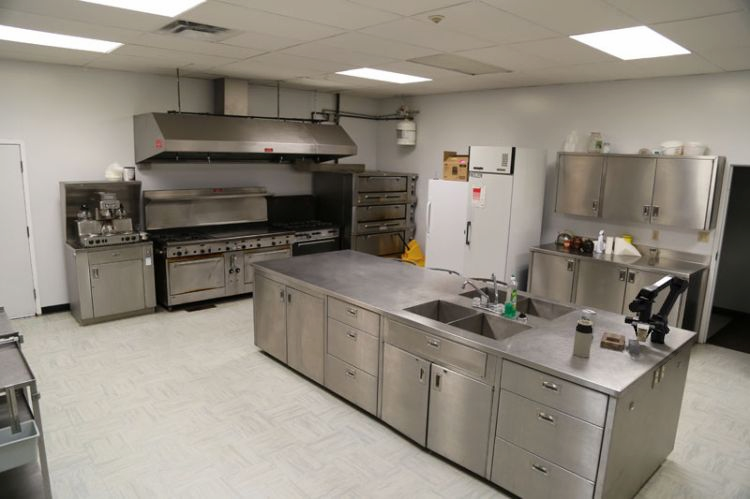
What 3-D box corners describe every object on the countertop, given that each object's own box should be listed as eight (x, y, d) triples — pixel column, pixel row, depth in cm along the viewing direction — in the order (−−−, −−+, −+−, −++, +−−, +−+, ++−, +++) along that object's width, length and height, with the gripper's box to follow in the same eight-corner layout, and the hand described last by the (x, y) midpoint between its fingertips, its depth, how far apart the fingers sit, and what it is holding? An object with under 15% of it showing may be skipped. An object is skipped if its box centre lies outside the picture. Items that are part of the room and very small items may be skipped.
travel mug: (581, 358, 251) (585, 325, 247) (569, 352, 258) (573, 320, 254) (592, 356, 254) (597, 323, 250) (580, 350, 261) (584, 318, 257)
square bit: (645, 339, 273) (647, 329, 272) (645, 342, 269) (647, 331, 268) (636, 337, 275) (638, 327, 274) (636, 340, 271) (637, 330, 270)
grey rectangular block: (637, 349, 266) (638, 340, 265) (638, 355, 258) (639, 346, 257) (627, 347, 268) (629, 339, 267) (628, 353, 260) (630, 344, 259)
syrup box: (578, 333, 286) (581, 310, 283) (586, 332, 289) (589, 309, 286) (586, 337, 281) (589, 313, 278) (593, 336, 283) (596, 312, 281)
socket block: (624, 340, 277) (625, 335, 277) (622, 350, 263) (623, 345, 262) (603, 336, 283) (604, 331, 282) (600, 346, 268) (600, 340, 268)
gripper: (665, 310, 271) (661, 336, 274) (627, 303, 280) (624, 329, 283) (665, 315, 261) (660, 342, 265) (626, 308, 271) (622, 335, 274)
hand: (641, 337), depth 272 cm, fingers closed on square bit, 4 cm apart
